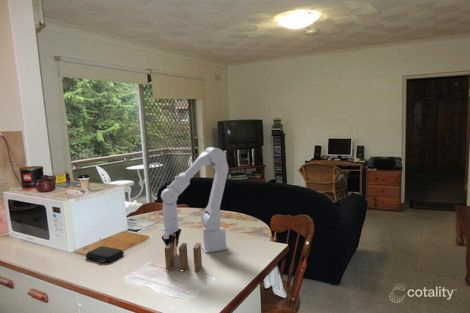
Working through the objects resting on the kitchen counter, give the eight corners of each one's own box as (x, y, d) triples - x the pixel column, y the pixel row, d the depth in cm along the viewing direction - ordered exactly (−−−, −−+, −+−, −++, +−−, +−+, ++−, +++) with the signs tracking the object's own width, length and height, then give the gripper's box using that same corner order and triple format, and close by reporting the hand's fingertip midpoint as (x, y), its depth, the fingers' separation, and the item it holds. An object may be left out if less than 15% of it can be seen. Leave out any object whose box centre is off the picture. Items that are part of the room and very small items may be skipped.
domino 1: (174, 265, 127) (172, 243, 126) (170, 271, 122) (168, 248, 121) (170, 265, 127) (168, 243, 126) (166, 271, 123) (164, 248, 122)
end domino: (177, 253, 138) (175, 233, 137) (173, 258, 133) (171, 237, 132) (173, 253, 139) (172, 233, 138) (169, 258, 134) (168, 237, 133)
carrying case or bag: (81, 260, 137) (106, 266, 130) (80, 253, 137) (105, 259, 130) (102, 251, 146) (126, 255, 140) (101, 244, 146) (125, 248, 139)
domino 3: (202, 265, 126) (200, 243, 125) (198, 271, 121) (197, 248, 120) (197, 265, 126) (196, 243, 125) (194, 271, 121) (193, 248, 120)
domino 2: (188, 265, 127) (186, 243, 126) (184, 271, 122) (182, 248, 121) (184, 265, 127) (182, 243, 126) (180, 271, 122) (178, 248, 121)
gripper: (167, 212, 142) (169, 242, 143) (154, 223, 127) (157, 256, 129) (182, 212, 141) (184, 242, 142) (172, 223, 127) (174, 256, 128)
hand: (172, 249), depth 136 cm, fingers closed on end domino, 5 cm apart
